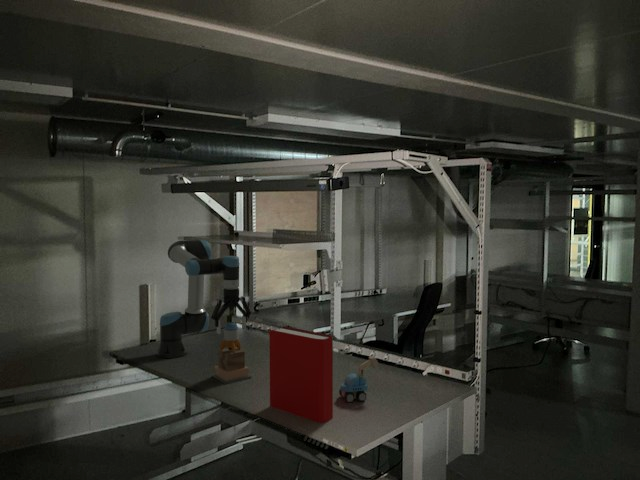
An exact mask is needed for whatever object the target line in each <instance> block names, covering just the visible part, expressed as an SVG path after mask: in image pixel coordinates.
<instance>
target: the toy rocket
mask: <svg viewBox="0 0 640 480" xmlns="http://www.w3.org/2000/svg"><path fill="white" fill-rule="evenodd" d="M239 331H240V330H239V327H238V325H237V323H235V322H233V321H230V322H227V323H226V324H225V326H224V330H223V338H224V340H222V341H221V342H220V345H219V350H220V351H222V350H223V349H225V347H227V348H228V349H229V350H232V353H233V354H235V347H236V348H238V349H240V350H241V349H242V348H241V347H242V345H241V344H242V343H241V341H240V340H239V334H240V332H239Z"/></svg>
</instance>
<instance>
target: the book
mask: <svg viewBox="0 0 640 480" xmlns="http://www.w3.org/2000/svg"><path fill="white" fill-rule="evenodd" d="M268 332H269V407H270V408H273V409H277V410H279V411H283V412H285V413H289V414H291V415H295V416H298V417H300V418H304V419H306V420H310V421H312V422H315V423H319V424H324V423H326V422H328V421H330V420H332V419H333V418H334V415H333V411H334V410H333V405H334V404H333V403H334V401H333V397H334V396H333V395H334V394H333V393H334V392H333V390H334V389H333V385H334V383H333V380H334V379H333V376H334V375H333V374H334V373H333V370H334V369H333V368H334V367H333V366H334V365H333V358H334V357H333V355H334V354H333V350H334V349H333V345H334V344H333V338H334V337H333V335H331V334H327V333H321V332H316V331H312V330H307V329H301V328H296V327H290V326H289V327H288V326H284V325H282V328H280V329H276V330H273V329H269V330H268Z"/></svg>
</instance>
